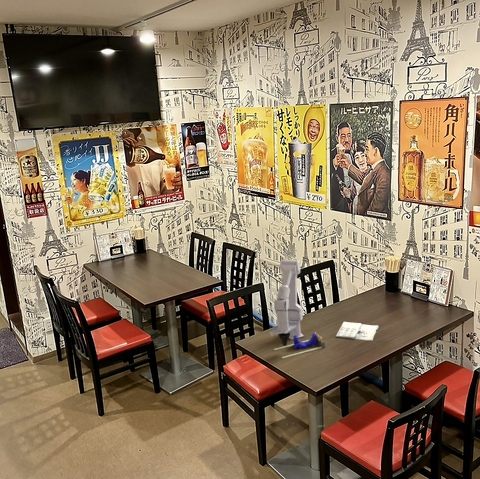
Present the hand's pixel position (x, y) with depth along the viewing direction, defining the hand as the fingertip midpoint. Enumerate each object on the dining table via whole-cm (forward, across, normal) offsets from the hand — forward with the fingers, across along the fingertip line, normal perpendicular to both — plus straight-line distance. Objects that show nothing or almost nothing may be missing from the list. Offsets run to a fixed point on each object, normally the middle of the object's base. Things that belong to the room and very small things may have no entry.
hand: (284, 345), depth 257 cm
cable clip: (+4, +12, +1) cm, 13 cm away
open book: (+5, +45, +1) cm, 45 cm away
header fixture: (+4, +8, 0) cm, 9 cm away
